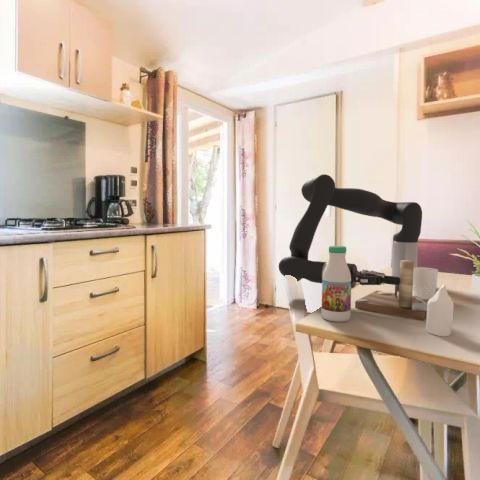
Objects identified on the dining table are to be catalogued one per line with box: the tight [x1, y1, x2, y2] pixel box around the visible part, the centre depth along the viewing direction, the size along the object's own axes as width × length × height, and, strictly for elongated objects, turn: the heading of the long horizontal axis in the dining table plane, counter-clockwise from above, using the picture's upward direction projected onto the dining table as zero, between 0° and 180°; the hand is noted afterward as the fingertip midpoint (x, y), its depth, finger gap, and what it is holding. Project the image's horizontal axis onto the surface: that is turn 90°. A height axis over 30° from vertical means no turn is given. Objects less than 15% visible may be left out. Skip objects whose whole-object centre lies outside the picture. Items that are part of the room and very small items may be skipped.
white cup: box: [412, 266, 439, 298], centre depth 117 cm, size 8×8×10 cm
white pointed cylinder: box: [425, 284, 454, 337], centre depth 83 cm, size 6×12×6 cm
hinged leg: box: [394, 260, 414, 308], centre depth 104 cm, size 16×4×13 cm, turn 162°
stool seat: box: [354, 290, 431, 321], centre depth 106 cm, size 19×19×2 cm
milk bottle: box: [320, 245, 352, 323], centre depth 94 cm, size 8×8×20 cm
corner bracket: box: [411, 300, 427, 311], centre depth 97 cm, size 4×4×2 cm
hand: (399, 281), depth 98 cm, fingers closed
